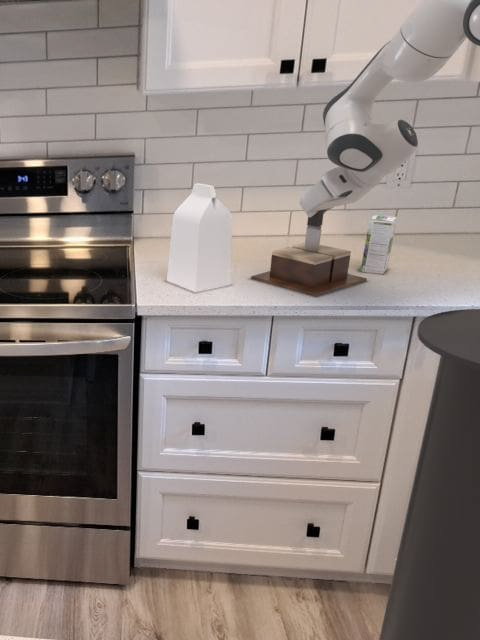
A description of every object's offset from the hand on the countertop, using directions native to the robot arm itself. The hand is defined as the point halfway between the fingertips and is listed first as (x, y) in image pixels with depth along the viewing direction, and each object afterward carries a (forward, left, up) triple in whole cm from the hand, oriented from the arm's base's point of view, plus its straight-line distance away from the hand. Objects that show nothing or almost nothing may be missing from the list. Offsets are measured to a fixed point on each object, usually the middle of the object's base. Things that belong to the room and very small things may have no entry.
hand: (313, 214), depth 176 cm
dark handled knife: (-1, 0, -11) cm, 11 cm away
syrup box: (-2, -21, -18) cm, 28 cm away
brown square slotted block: (-1, 0, -18) cm, 18 cm away
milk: (+10, +26, -18) cm, 33 cm away
